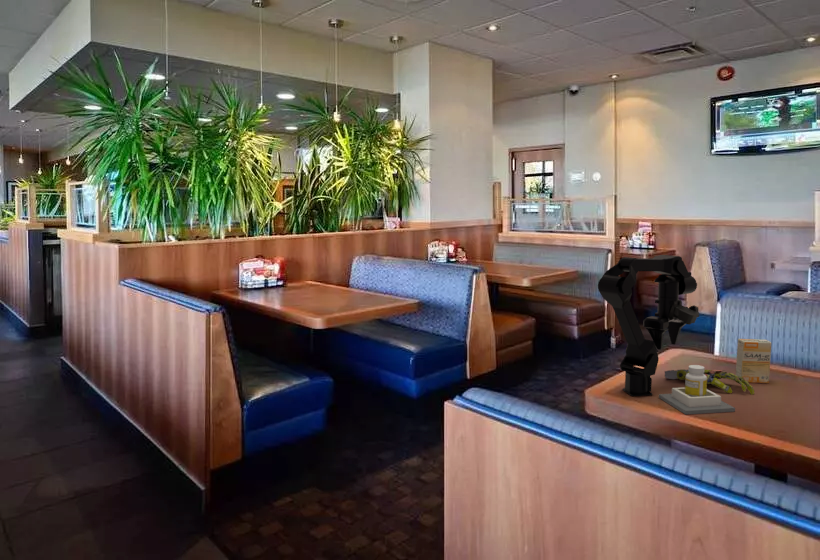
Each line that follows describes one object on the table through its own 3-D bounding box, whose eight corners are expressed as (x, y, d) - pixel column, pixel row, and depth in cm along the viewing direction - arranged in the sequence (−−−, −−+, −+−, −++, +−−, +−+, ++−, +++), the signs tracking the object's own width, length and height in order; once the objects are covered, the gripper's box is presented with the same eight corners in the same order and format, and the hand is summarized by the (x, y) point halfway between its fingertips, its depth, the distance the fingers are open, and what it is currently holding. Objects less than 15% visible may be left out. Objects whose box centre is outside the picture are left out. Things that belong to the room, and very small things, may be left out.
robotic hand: (674, 369, 196) (758, 369, 178) (675, 391, 195) (760, 394, 177) (658, 369, 188) (744, 370, 170) (659, 393, 187) (746, 396, 169)
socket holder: (685, 414, 159) (686, 401, 158) (658, 397, 173) (659, 385, 172) (735, 411, 160) (735, 399, 160) (704, 394, 174) (704, 383, 174)
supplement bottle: (699, 397, 169) (701, 363, 168) (710, 403, 164) (711, 369, 162) (681, 397, 169) (682, 364, 168) (690, 404, 164) (691, 369, 162)
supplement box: (740, 383, 184) (742, 341, 183) (735, 378, 189) (737, 338, 187) (769, 383, 183) (772, 342, 181) (763, 379, 188) (765, 338, 186)
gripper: (680, 303, 169) (678, 357, 171) (708, 295, 181) (706, 346, 183) (643, 299, 177) (641, 350, 179) (672, 292, 189) (671, 340, 191)
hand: (666, 346), depth 183 cm, fingers open, 9 cm apart
